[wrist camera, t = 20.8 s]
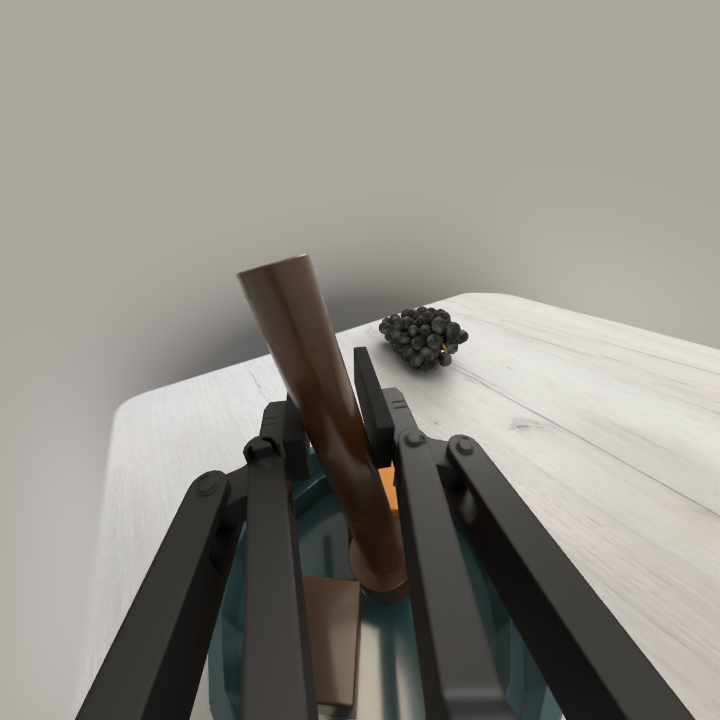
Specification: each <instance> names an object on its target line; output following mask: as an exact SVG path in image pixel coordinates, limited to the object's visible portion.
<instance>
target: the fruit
mask: <svg viewBox="0 0 720 720" xmlns="http://www.w3.org/2000/svg"><path fill="white" fill-rule="evenodd" d="M401 317H402V318H401ZM401 317H400V316H399V315H397V314H393V315H392V316H390V318H387V317H386V318H385V319H383V320H382V323H381V324H380V325H379V331H380V332H381V333H383V334H385V339H386V340H387V341H389V343H391V344H395V345H394V346H393V347H394V351H396V352H398V353H399V354H400V355H402V357H403V359H404V360H409V362H410V365H411V366H412V367H415V368H417V367H419V366H421V369H422V371H424V372H427V373H430V372H432V371H434V370H435V369H436V368H437V367H438V366H439V364H440V365H441V366H443V367H444V366H449V365H450V364H451V355H450V354H454V353H455V352H457V350H458V344H462V343H463V342H465V341H467V339H468V333H467V332H466V331H464V330H461V329H460V325H459V324H458V323H456V322H451V319H450V315H449V314H448V313H447V312H446V311H444V310H442V309H439V310H436V309H434V308H429V309H427V308H425V307H419V308H418V309H417V310H415V309H411V310H410V309H405V310H404V311H402V313H401ZM441 350H444V351H445V352H442V353H441Z"/></svg>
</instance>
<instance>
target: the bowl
mask: <svg viewBox="0 0 720 720" xmlns="http://www.w3.org/2000/svg"><path fill="white" fill-rule="evenodd" d="M291 489H292V493H293V501H294V510H295V519H296V527H297V536H298V544H299V553H300V562H301V570H302V575H304V576H316V577H327V578H339V579H350V580H356V579H355V577H354V575H353V573H352V571H351V568H350V563H349V549H350V544H351V541H352V538H348V533H347V523H346V520H345V518H344V516H343V514H342V512H341V509H340V507H339V505H338V503H337V500H336V498H335V496H334V494H333V491H332V489H331V487H330V485H329V482H328V480H327V478H326V476H325V474H324V471H323V469H322V467H321V465H320V462H319V460H318V458H317V456H316V453H315V451H314V449H313V447H311V448H310V480H305V481H299V482H293V481H292V477H291ZM446 501H447V499H446ZM447 504H448V507H449V511H450V514H451V518H452V521H453V525H454V528H455V531H456V535H457V538H458V542H459V545H460V548H461V552H462V555H463V559H464V562H465V565H466V569H467V572H468V576H469V579H470V582H471V586H472V589H473V593H474V596H475V599H476V603H477V606H478V610H479V613H480V616H481V620H482V623H483V627H484V630H485V633H486V637H487V640H488V644H489V647H490V651H491V654H492V657H493V661H494V664H495V668H496V671H497V674H498V678H499V681H500V684H501V687H502V690H503V693H504V695H505V697H506V700H507V701H508V703H509V705H510V706H511V708H512V709H513V711H514V712H515V714H516V716H517V718H518V720H561V718H562V711H561V709H560V707H559V706H558V704H557V702H556V700H555V698H554V696H553V694H552V693H551V691H550V689H549V687H548V685H547V683H546V682H545V680H544V678H543V676H542V674H541V672H540V670H539V669H538V667H537V665H536V663H535V661H534V659H533V658H532V656H531V654H530V652H529V650H528V648H527V647H526V645H525V643H524V641H523V639H522V637H521V635H520V634H519V632H518V630H517V628H516V626H515V624H514V623H513V621H512V619H511V617H510V615H509V613H508V611H507V610H506V608H505V606H504V604H503V602H502V600H501V599H500V597H499V595H498V593H497V591H496V589H495V587H494V586H493V584H492V582H491V580H490V578H489V576H488V575H487V573H486V571H485V569H484V567H483V565H482V564H481V562H480V560H479V558H478V556H477V554H476V552H475V551H474V549H473V547H472V545H471V543H470V541H469V540H468V538H467V536H466V534H465V532H464V530H463V528H462V527H461V525H460V523H459V521H458V519H457V517H456V516H455V514H454V512H453V510H452V508H451V506H450V504H449V503H448V501H447ZM245 551H246V521H245V522H244V523H243V527H242V530H241V534H240V538H239V541H238V545H237V549H236V552H235V556H234V560H233V563H232V567H231V570H230V574H229V578H228V581H227V585H226V589H225V592H224V596H223V599H222V603H221V607H220V610H219V614H218V618H217V621H216V625H215V628H214V632H213V636H212V639H211V643H210V647H209V650H208V677H209V705H210V711H211V714H212V717H213V720H240V703H241V672H242V642H243V612H244V581H245ZM361 592H362V591H361ZM318 717H319V720H426V719H425V704H424V696H423V689H422V681H421V674H420V666H419V659H418V652H417V644H416V637H415V629H414V622H413V615H412V607H411V600H410V596H409V597H407V598H406V599H405V600H404V601H402V602H400V603H398V604H395V605H380V604H377V603H375V602H373V601H371V600H370V599H368V598H367V597H366V596H365V595H364V593H363V592H362V617H361V637H360V657H359V677H358V697H357V715H356V718H348V717H340V716H332V715H324V714H318Z"/></svg>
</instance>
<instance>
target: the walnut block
mask: <svg viewBox="0 0 720 720" xmlns="http://www.w3.org/2000/svg"><path fill="white" fill-rule="evenodd" d="M302 579H303V588H304V596H305V605H306V613H307V622H308V631H309V639H310V648H311V656H312V665H313V674H314V682H315V691H316V700H317V708H318V714H324V715H332V716H340V717H348V718H356V715H357V697H358V677H359V657H360V637H361V617H362V592H361V581H360V580H350V579H339V578H327V577H316V576H304V575H302Z"/></svg>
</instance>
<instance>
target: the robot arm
mask: <svg viewBox="0 0 720 720" xmlns="http://www.w3.org/2000/svg"><path fill="white" fill-rule="evenodd" d="M354 383H355V387H356V391H357V396H358V400H359V404H360V408H361V412H362V416H363V421H364V425H365V429H366V433H367V436H368V439H369V442H370V445H371V448H372V451H373V455H374V460H375V468H376V469H382V468H388V467H391V464H392V462H393V466H394V469H395V470H394V479H393V486H395V489H396V496H397V503H398V511H399V518H400V526H401V533H402V540H403V548H404V555H405V563H406V570H407V577H408V585H409V592H410V600H411V607H412V615H413V622H414V629H415V637H416V644H417V652H418V659H419V666H420V674H421V681H422V689H423V696H424V704H425V719H426V720H518V718H517V716H516V714H515V712H514V711H513V709H512V708H511V706H510V705H509V703H508V701H507V700H506V697H505V695H504V693H503V690H502V687H501V684H500V681H499V678H498V674H497V671H496V668H495V664H494V661H493V657H492V654H491V651H490V647H489V644H488V640H487V637H486V633H485V630H484V627H483V623H482V620H481V616H480V613H479V610H478V606H477V603H476V599H475V596H474V593H473V589H472V586H471V582H470V579H469V576H468V572H467V569H466V565H465V562H464V559H463V555H462V552H461V548H460V545H459V542H458V538H457V535H456V531H455V528H454V525H453V521H452V518H451V514H450V511H449V507H448V504H447V501H448V503H449V504H450V506H451V508H452V510H453V512H454V514H455V516H456V517H457V519H458V521H459V523H460V525H461V527H462V528H463V530H464V532H465V534H466V536H467V538H468V540H469V541H470V543H471V545H472V547H473V549H474V551H475V552H476V554H477V556H478V558H479V560H480V562H481V564H482V565H483V567H484V569H485V571H486V573H487V575H488V576H489V578H490V580H491V582H492V584H493V586H494V587H495V589H496V591H497V593H498V595H499V597H500V599H501V600H502V602H503V604H504V606H505V608H506V610H507V611H508V613H509V615H510V617H511V619H512V621H513V623H514V624H515V626H516V628H517V630H518V632H519V634H520V635H521V637H522V639H523V641H524V643H525V645H526V647H527V648H528V650H529V652H530V654H531V656H532V658H533V659H534V661H535V663H536V665H537V667H538V669H539V670H540V672H541V674H542V676H543V678H544V680H545V682H546V683H547V685H548V687H549V689H550V691H551V693H552V694H553V696H554V698H555V700H556V702H557V704H558V706H559V707H560V709H561V711H562V713H563V715H564V717H565V718H566V720H695V718H694V717H693V716H692V715H691V713H690V712H689V711H688V710H687V708H686V707H685V706H684V704H683V703H682V702H681V701H680V699H679V698H678V697H677V696H676V694H675V693H674V692H673V690H672V689H671V688H670V687H669V685H668V684H667V683H666V682H665V680H664V679H663V678H662V676H661V675H660V674H659V673H658V671H657V670H656V669H655V668H654V666H653V665H652V664H651V662H650V661H649V660H648V659H647V657H646V656H645V655H644V654H643V652H642V651H641V650H640V648H639V647H638V646H637V645H636V643H635V642H634V641H633V640H632V638H631V637H630V636H629V634H628V633H627V632H626V631H625V629H624V628H623V627H622V626H621V624H620V623H619V622H618V620H617V619H616V618H615V617H614V615H613V614H612V613H611V612H610V610H609V609H608V608H607V607H606V605H605V604H604V603H603V601H602V600H601V599H600V598H599V596H598V595H597V594H596V593H595V591H594V590H593V589H592V587H591V586H590V585H589V584H588V582H587V581H586V580H585V579H584V577H583V576H582V575H581V573H580V572H579V571H578V570H577V568H576V567H575V566H574V565H573V563H572V562H571V561H570V559H569V558H568V557H567V556H566V554H565V553H564V552H563V551H562V549H561V548H560V547H559V545H558V544H557V543H556V542H555V540H554V539H553V538H552V537H551V535H550V534H549V533H548V531H547V530H546V529H545V528H544V526H543V525H542V524H541V523H540V521H539V520H538V519H537V517H536V516H535V515H534V514H533V512H532V511H531V510H530V509H529V507H528V506H527V505H526V503H525V502H524V501H523V500H522V498H521V497H520V496H519V495H518V493H517V492H516V491H515V489H514V488H513V487H512V486H511V484H510V483H509V482H508V481H507V479H506V478H505V477H504V475H503V474H502V473H501V472H500V470H499V469H498V468H497V467H496V465H495V464H494V463H493V462H492V460H491V459H490V458H489V456H488V455H487V454H486V453H485V451H484V450H483V449H482V448H481V446H480V445H479V444H478V443H477V442H476V441H475V440H474V439H472V438H471V437H469V436H465V435H455V436H452V437H451V438H450V439H449V441H442V440H435V439H431V438H429V437H427V436H426V435H425V434H424V433H423V432H422V431H420V430H419V429H418V427H417V424H416V422H415V420H414V418H413V416H412V414H411V412H410V409H409V407H408V405H407V403H406V402H405V399H404V396H403V394H402V393H401V392H400V391H399V390H398V389H397V388H387V389H381V387H380V384H379V381H378V378H377V376H376V373H375V370H374V368H373V365H372V362H371V359H370V357H369V354H368V351H367V349H366V347H356V348H354ZM243 454H244V456H245V459H246V462H247V464H246V465H245V466H244V467H242V468H240V469H238V470H235V471H233V472H230V473H228V474H226V475H225V474H224V473H223V472H221V471H216V470H214V471H210V472H206V473H204V474H202V475H201V476H199V477H198V478H197V479H196V480H194V481H193V483H192V484H191V486H190V487H189V489H188V491H187V493H186V495H185V497H184V499H183V501H182V503H181V505H180V507H179V509H178V511H177V513H176V515H175V517H174V519H173V521H172V523H171V525H170V527H169V529H168V531H167V533H166V535H165V537H164V539H163V541H162V543H161V546H160V548H159V550H158V552H157V554H156V556H155V558H154V560H153V562H152V564H151V566H150V568H149V570H148V572H147V574H146V576H145V578H144V580H143V582H142V584H141V586H140V588H139V590H138V592H137V594H136V596H135V598H134V600H133V603H132V605H131V607H130V609H129V611H128V613H127V615H126V617H125V619H124V621H123V623H122V625H121V627H120V629H119V631H118V633H117V635H116V637H115V639H114V641H113V643H112V645H111V647H110V649H109V651H108V653H107V655H106V657H105V659H104V662H103V664H102V666H101V668H100V670H99V672H98V674H97V676H96V678H95V680H94V682H93V684H92V686H91V688H90V690H89V692H88V694H87V696H86V698H85V700H84V702H83V704H82V706H81V708H80V710H79V712H78V714H77V716H76V718H75V720H189V719H190V716H191V712H192V708H193V705H194V701H195V697H196V694H197V690H198V687H199V683H200V679H201V676H202V672H203V668H204V665H205V661H206V658H207V654H208V650H209V647H210V643H211V639H212V636H213V632H214V628H215V625H216V621H217V618H218V614H219V610H220V607H221V603H222V599H223V596H224V592H225V589H226V585H227V581H228V578H229V574H230V570H231V567H232V563H233V560H234V556H235V552H236V549H237V545H238V541H239V538H240V534H241V530H242V527H243V523H244V522H245V521H246V551H245V581H244V612H243V642H242V672H241V703H240V720H319V717H318V708H317V700H316V691H315V682H314V674H313V665H312V656H311V648H310V639H309V631H308V622H307V613H306V605H305V596H304V588H303V579H302V570H301V562H300V553H299V544H298V536H297V527H296V519H295V510H294V501H293V493H292V489H291V477H292V481H293V482H299V481H305V480H310V440H309V438H308V436H307V433H306V431H305V429H304V427H303V424H302V422H301V420H300V418H299V415H298V413H297V411H296V409H295V406H294V404H293V402H292V400H291V398H290V395H289V393H288V391H287V401H278V402H270V403H269V404H268V406H267V407H266V408H265V410H264V413H263V420H262V424H261V429H260V434H259V436H257V437H255V438H253V439H252V440H250V441H249V442H248V443H247V445H246V446H245V447H244V451H243ZM446 499H447V501H446Z"/></svg>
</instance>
